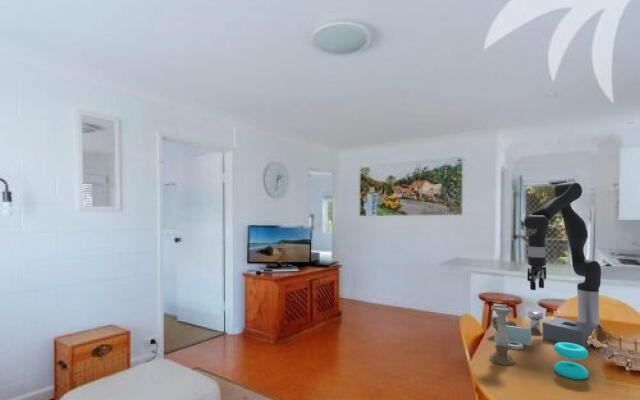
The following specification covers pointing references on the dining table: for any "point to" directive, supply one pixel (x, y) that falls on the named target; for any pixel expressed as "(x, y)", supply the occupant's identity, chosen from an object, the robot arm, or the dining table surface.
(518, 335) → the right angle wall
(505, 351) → the candle holder
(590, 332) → the socket block
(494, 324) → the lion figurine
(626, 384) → the dining table surface
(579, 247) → the robot arm
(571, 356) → the donuts
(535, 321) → the steel pin
